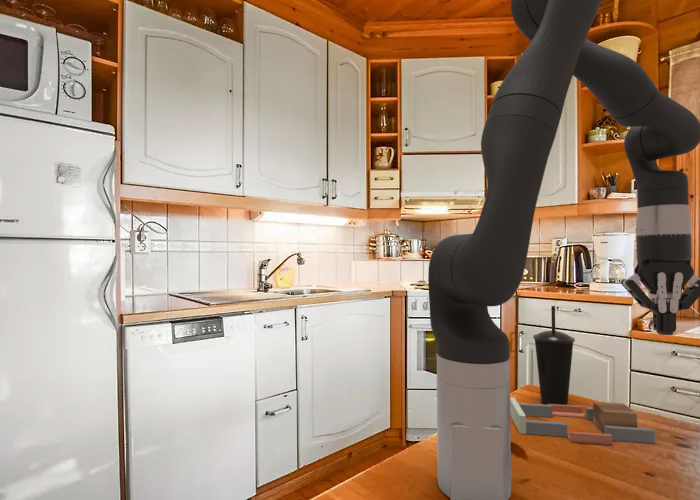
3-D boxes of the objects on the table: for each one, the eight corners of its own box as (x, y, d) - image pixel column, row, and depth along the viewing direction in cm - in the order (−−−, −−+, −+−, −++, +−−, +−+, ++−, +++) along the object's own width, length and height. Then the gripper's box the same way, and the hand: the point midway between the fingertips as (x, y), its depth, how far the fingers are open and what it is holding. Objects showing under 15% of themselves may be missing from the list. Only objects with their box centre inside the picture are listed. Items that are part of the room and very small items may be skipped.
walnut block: (637, 438, 68) (637, 414, 68) (604, 435, 69) (604, 411, 69) (623, 425, 73) (623, 403, 73) (593, 423, 74) (592, 401, 74)
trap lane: (661, 449, 64) (661, 436, 64) (528, 439, 68) (528, 426, 68) (621, 416, 77) (621, 405, 77) (512, 409, 81) (512, 399, 81)
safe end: (526, 433, 70) (525, 416, 70) (519, 433, 70) (519, 415, 70) (514, 413, 79) (514, 397, 79) (509, 412, 79) (509, 397, 79)
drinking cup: (575, 413, 78) (573, 309, 79) (531, 406, 82) (530, 306, 83) (576, 401, 85) (574, 305, 85) (536, 395, 89) (534, 303, 89)
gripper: (630, 232, 68) (632, 337, 68) (722, 231, 65) (725, 339, 65) (610, 235, 75) (612, 329, 75) (692, 233, 73) (694, 331, 72)
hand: (664, 334), depth 70 cm, fingers closed
